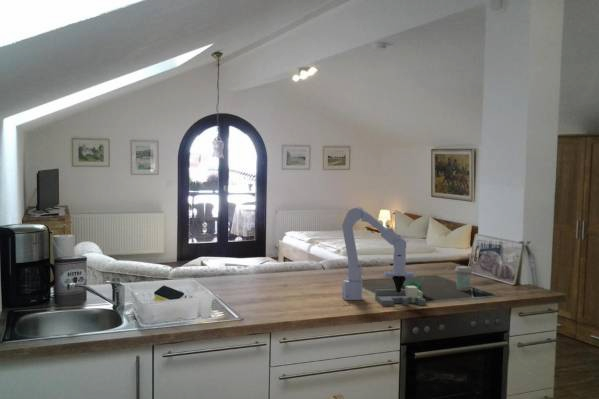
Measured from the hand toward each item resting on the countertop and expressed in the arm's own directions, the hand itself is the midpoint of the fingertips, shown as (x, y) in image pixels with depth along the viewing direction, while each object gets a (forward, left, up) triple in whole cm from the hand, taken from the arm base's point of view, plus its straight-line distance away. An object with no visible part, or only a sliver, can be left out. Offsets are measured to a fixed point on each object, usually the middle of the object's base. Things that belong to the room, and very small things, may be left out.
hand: (398, 291), depth 266 cm
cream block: (+6, 0, -2) cm, 7 cm away
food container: (+12, +11, -5) cm, 17 cm away
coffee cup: (+43, +22, -5) cm, 48 cm away
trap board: (0, -2, -5) cm, 5 cm away
